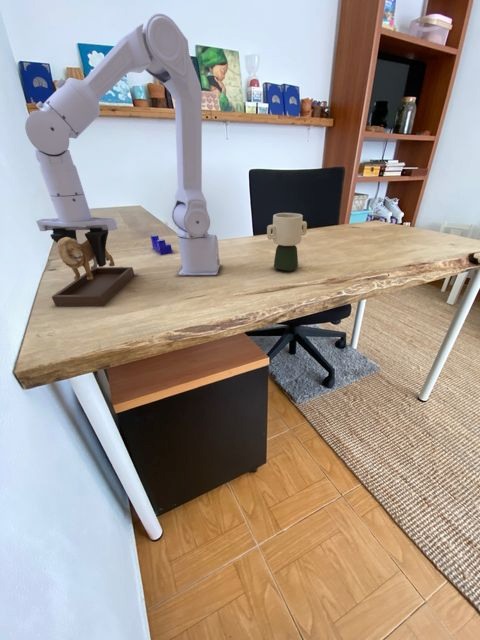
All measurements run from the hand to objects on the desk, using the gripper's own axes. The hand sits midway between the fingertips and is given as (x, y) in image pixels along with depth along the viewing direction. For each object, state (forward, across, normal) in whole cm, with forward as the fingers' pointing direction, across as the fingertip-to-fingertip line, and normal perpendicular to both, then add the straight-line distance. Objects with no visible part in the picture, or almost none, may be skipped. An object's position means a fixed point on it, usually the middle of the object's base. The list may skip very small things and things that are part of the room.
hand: (91, 265), depth 63 cm
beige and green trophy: (+6, -43, -12) cm, 45 cm away
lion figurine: (+2, 0, 0) cm, 2 cm away
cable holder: (+6, -6, -30) cm, 31 cm away
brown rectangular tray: (+5, 0, 0) cm, 5 cm away
